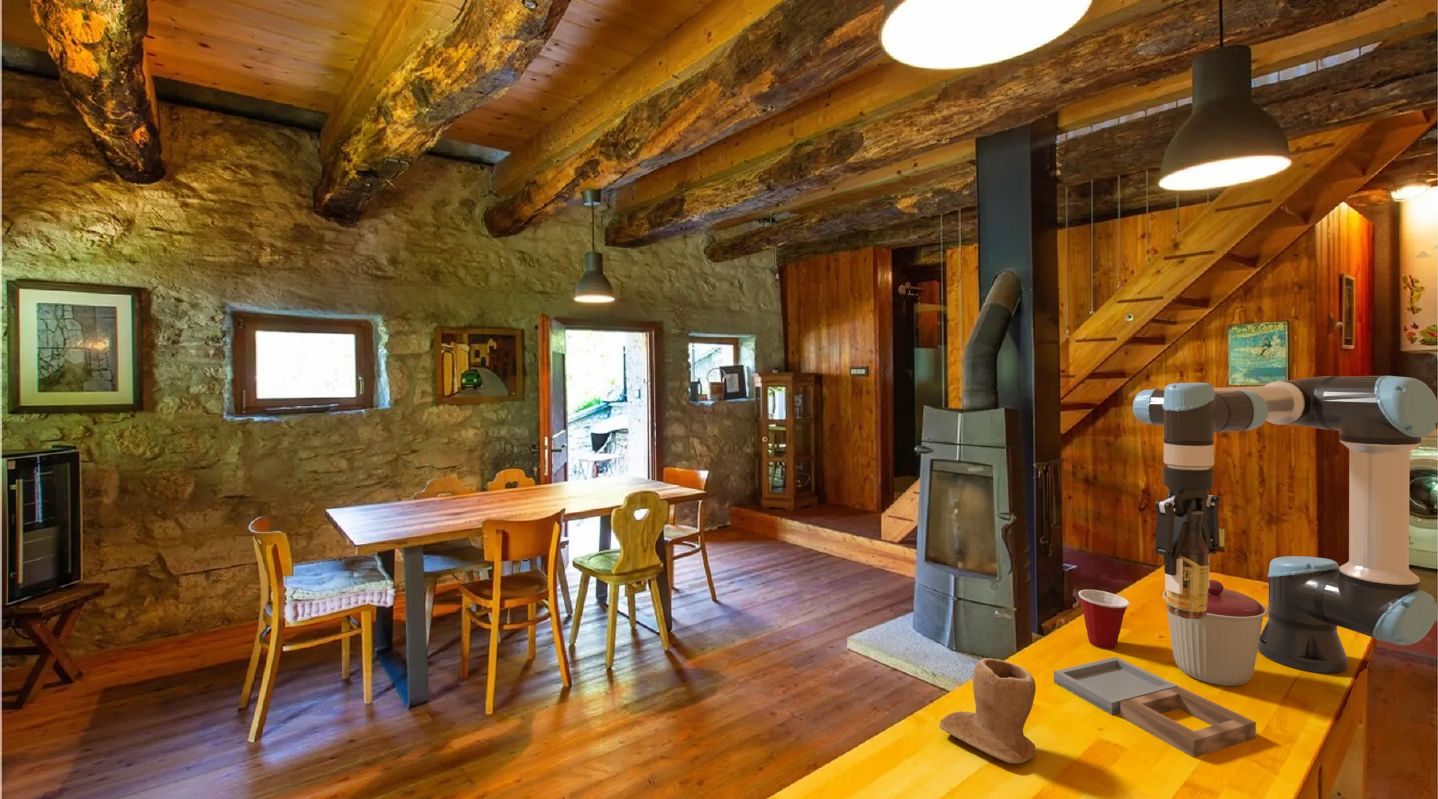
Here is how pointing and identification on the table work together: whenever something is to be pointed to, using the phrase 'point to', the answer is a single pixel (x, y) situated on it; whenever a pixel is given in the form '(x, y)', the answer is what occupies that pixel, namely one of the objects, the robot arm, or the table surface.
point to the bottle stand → (1194, 743)
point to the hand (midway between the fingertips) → (1187, 588)
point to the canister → (1219, 638)
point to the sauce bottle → (1192, 573)
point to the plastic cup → (1103, 617)
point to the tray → (1110, 682)
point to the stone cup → (997, 712)
